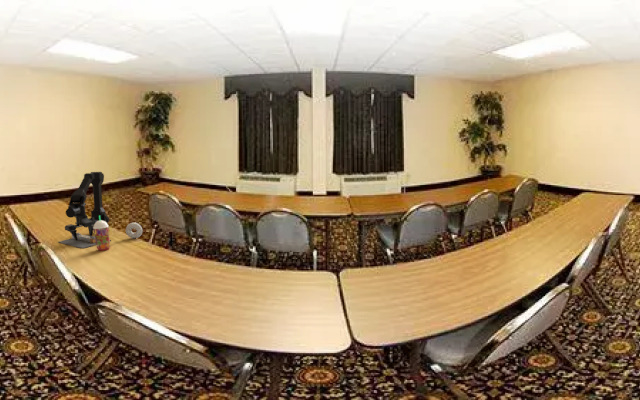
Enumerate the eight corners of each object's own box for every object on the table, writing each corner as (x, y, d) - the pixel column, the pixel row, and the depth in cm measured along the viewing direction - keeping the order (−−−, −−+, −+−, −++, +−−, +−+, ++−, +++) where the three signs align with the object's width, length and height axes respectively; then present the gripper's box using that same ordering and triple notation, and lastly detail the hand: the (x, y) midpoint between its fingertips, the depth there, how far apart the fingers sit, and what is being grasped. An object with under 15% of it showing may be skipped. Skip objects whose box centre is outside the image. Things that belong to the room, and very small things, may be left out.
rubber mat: (86, 235, 310) (86, 234, 310) (111, 241, 295) (111, 240, 295) (58, 242, 296) (58, 241, 295) (82, 248, 280) (82, 247, 280)
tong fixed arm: (72, 238, 301) (71, 233, 301) (78, 237, 305) (77, 231, 304) (92, 243, 288) (92, 237, 288) (99, 241, 292) (98, 236, 291)
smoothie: (96, 252, 272) (91, 218, 268) (95, 249, 279) (90, 215, 275) (112, 250, 276) (108, 216, 272) (110, 246, 283) (106, 213, 279)
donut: (125, 239, 297) (123, 223, 295) (127, 238, 301) (125, 222, 299) (142, 238, 298) (140, 222, 296) (143, 237, 301) (142, 221, 300)
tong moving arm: (76, 239, 299) (75, 235, 298) (78, 238, 300) (78, 234, 300) (93, 243, 289) (92, 239, 288) (95, 242, 290) (95, 238, 289)
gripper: (72, 218, 282) (76, 244, 285) (102, 212, 297) (105, 236, 300) (62, 216, 288) (66, 241, 291) (92, 210, 303) (95, 234, 306)
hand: (83, 238), depth 297 cm, fingers open, 9 cm apart
